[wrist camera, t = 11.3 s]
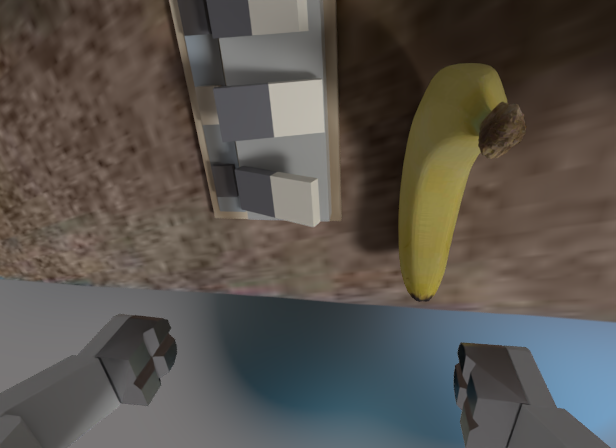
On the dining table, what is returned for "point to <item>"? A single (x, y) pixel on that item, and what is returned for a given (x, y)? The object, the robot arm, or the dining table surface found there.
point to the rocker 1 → (256, 17)
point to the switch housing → (274, 68)
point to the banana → (448, 164)
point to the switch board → (210, 73)
